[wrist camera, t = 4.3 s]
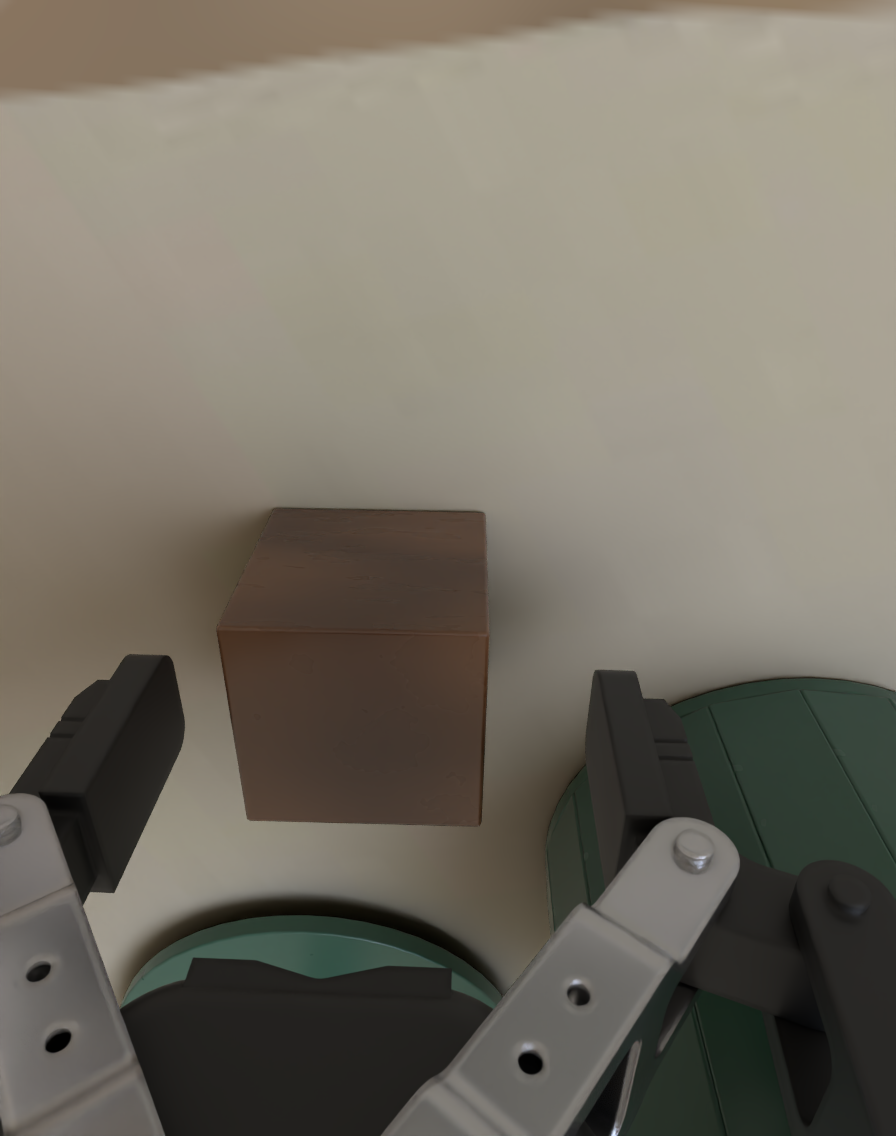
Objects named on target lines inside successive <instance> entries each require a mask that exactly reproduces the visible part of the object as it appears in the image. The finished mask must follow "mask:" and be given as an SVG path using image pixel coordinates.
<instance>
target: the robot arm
mask: <svg viewBox="0 0 896 1136" xmlns="http://www.w3.org/2000/svg"><path fill="white" fill-rule="evenodd" d="M184 731H185V721H184V714H183V709H182V704H181V699H180V694H179V689H178V684H177V679H176V674H175V669H174V665H173V661H172V659H171V658H170V657H169V656H167V655H138V654H129V655H127V656H125V657H124V659H123V660H122V662H121V663H120V665H119V666H118V668H117V670H116V671H115V673H114V674H113V676H112V677H111V679H110V680H97V681H96V682H94V683H93V684H92V685H90V686H89V687H88V688H86V689H85V690H84V691H82V692H81V693H80V694H78V695H77V696H76V697H75V698H74V699H73V701H72V702H71V704H70V705H69V707H68V708H67V710H66V711H65V712H64V714H63V715H62V717H61V721H58V723H57V724H56V726H55V727H54V729H53V730H52V732H51V733H50V738H49V737H47V739H46V740H45V742H44V743H43V745H42V746H41V748H40V749H39V751H38V752H37V754H36V755H35V756H34V758H33V759H32V761H31V762H30V764H29V765H28V767H27V768H26V770H25V771H24V773H23V774H22V776H21V777H20V778H19V780H18V781H17V783H16V784H15V786H14V787H13V789H12V790H11V792H10V793H9V794H7V795H3V796H0V1136H626V1135H627V1133H628V1131H629V1129H630V1127H631V1125H632V1123H633V1121H634V1119H635V1117H636V1115H637V1113H638V1111H639V1109H640V1107H641V1104H642V1102H643V1100H644V1097H645V1095H646V1092H647V1090H648V1087H649V1085H650V1083H651V1081H652V1079H653V1077H654V1075H655V1073H656V1071H657V1069H658V1067H659V1066H660V1064H661V1062H662V1060H663V1059H664V1057H665V1055H666V1053H667V1052H668V1050H669V1048H670V1047H671V1045H672V1043H673V1041H674V1040H675V1038H676V1036H677V1034H678V1033H679V1031H680V1029H681V1028H682V1026H683V1024H684V1022H685V1021H686V1019H687V1017H688V1015H689V1014H690V1012H691V1010H692V1008H693V1007H694V1005H695V1003H696V1002H697V1000H698V998H699V996H700V995H701V993H702V991H703V990H704V991H707V992H710V993H713V994H716V995H718V996H721V997H724V998H727V999H730V1000H732V1001H735V1002H738V1003H741V1004H744V1005H746V1006H749V1007H752V1008H755V1009H758V1010H760V1011H761V1012H762V1016H763V1020H764V1024H765V1029H766V1033H767V1037H768V1041H769V1045H770V1049H771V1054H772V1058H773V1062H774V1066H775V1070H776V1074H777V1079H778V1083H779V1087H780V1091H781V1095H782V1099H783V1103H784V1108H785V1112H786V1116H787V1120H788V1124H789V1128H790V1133H791V1136H896V901H895V899H894V897H893V895H892V894H891V893H890V891H889V890H888V889H887V888H886V887H885V886H884V885H883V884H882V882H880V881H879V880H878V879H877V878H876V877H874V876H873V875H871V874H870V873H868V872H867V871H865V870H863V869H861V868H859V867H857V866H854V865H852V864H849V863H846V862H842V861H836V860H820V861H816V862H812V863H810V864H808V865H807V866H805V867H804V868H803V869H802V870H801V872H800V874H799V875H798V876H797V875H793V874H790V873H787V872H783V871H780V870H777V869H773V868H770V867H767V866H764V865H761V864H758V863H756V862H753V861H751V860H749V859H747V858H746V857H744V856H742V855H741V854H739V853H738V851H737V849H736V847H735V845H734V844H733V842H732V841H731V840H730V839H729V838H728V837H727V835H726V834H724V833H723V832H722V831H721V830H719V829H718V828H716V827H715V824H714V821H713V818H712V815H711V812H710V809H709V806H708V803H707V799H706V796H705V793H704V790H703V787H702V784H701V780H700V777H699V774H698V771H697V768H696V765H695V761H693V755H692V752H691V749H690V746H689V744H688V742H687V740H688V739H687V736H686V733H685V730H684V727H683V723H682V720H681V718H680V717H679V716H678V715H677V713H676V712H675V711H674V710H673V709H672V708H671V707H670V706H669V705H668V704H667V702H666V701H665V700H664V699H643V697H642V693H641V689H640V685H639V682H638V678H637V674H636V672H635V671H614V670H595V672H594V675H593V681H592V689H591V697H590V705H589V713H588V721H587V729H586V741H585V753H586V766H587V773H588V780H589V786H590V793H591V799H592V806H593V813H594V819H595V826H596V832H597V839H598V845H599V852H600V858H601V865H602V872H603V878H604V885H605V891H604V892H603V894H602V895H601V896H600V897H599V899H598V900H597V901H596V902H595V903H594V904H593V905H592V906H589V905H588V904H586V903H581V904H579V905H578V906H576V907H575V908H574V909H573V910H572V911H571V913H570V914H569V915H568V916H567V917H566V919H565V920H564V921H563V922H562V924H561V925H560V926H559V928H558V929H557V930H556V931H555V933H554V934H553V935H552V936H551V938H550V939H549V940H548V941H547V943H546V944H545V945H544V946H543V948H542V949H541V950H540V951H539V953H538V954H537V955H536V956H535V958H534V959H533V960H532V961H531V963H530V964H529V965H528V966H527V968H526V969H525V970H524V971H523V973H522V974H521V975H520V976H519V978H518V979H517V980H516V981H515V983H514V984H513V985H512V986H511V988H510V989H509V990H508V991H507V993H506V994H505V995H504V997H503V998H502V999H501V1000H500V1002H499V1003H498V1004H497V1005H496V1007H495V1008H494V1009H493V1008H491V1007H489V1006H488V1005H486V1004H485V1003H483V1002H481V1001H480V1000H478V999H475V998H473V997H471V996H469V995H467V994H464V993H462V992H459V991H456V990H453V989H452V968H433V967H409V966H383V967H378V968H373V969H369V970H364V971H359V972H354V973H349V974H344V975H339V976H334V977H329V978H323V979H317V978H312V977H309V976H306V975H302V974H299V973H296V972H293V971H290V970H286V969H283V968H280V967H277V966H274V965H270V964H267V963H264V962H261V961H257V960H243V959H219V958H195V957H193V958H192V961H191V964H190V967H189V970H188V973H187V976H186V979H184V980H180V981H176V982H173V983H170V984H166V985H163V986H161V987H158V988H156V989H154V990H151V991H149V992H147V993H145V994H143V995H141V996H140V997H138V998H136V999H134V1000H132V1001H131V1002H129V1003H128V1004H126V1005H125V1006H123V1007H122V1008H120V1009H119V1006H118V1003H117V1000H116V997H115V995H114V992H113V989H112V986H111V984H110V981H109V978H108V975H107V972H106V970H105V967H104V964H103V961H102V958H101V956H100V953H99V950H98V947H97V944H96V942H95V939H94V936H93V933H92V930H91V928H90V925H89V922H88V919H87V916H86V914H85V911H84V908H83V904H84V902H85V900H86V898H87V896H88V894H89V892H104V893H114V892H115V890H116V888H117V886H118V884H119V881H120V879H121V877H122V875H123V873H124V871H125V869H126V866H127V864H128V862H129V860H130V858H131V856H132V853H133V851H134V849H135V847H136V845H137V843H138V841H139V838H140V836H141V834H142V832H143V830H144V828H145V826H146V823H147V821H148V819H149V817H150V815H151V813H152V810H153V808H154V806H155V804H156V802H157V800H158V798H159V795H160V793H161V791H162V789H163V787H164V785H165V783H166V780H167V778H168V776H169V774H170V772H171V770H172V767H173V765H174V763H175V761H176V759H177V757H178V755H179V752H180V750H181V747H182V744H183V739H184Z"/></svg>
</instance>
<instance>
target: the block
mask: <svg viewBox="0 0 896 1136" xmlns="http://www.w3.org/2000/svg"><path fill="white" fill-rule="evenodd" d="M216 631H217V637H218V643H219V649H220V655H221V662H222V668H223V674H224V680H225V686H226V692H227V698H228V705H229V711H230V717H231V723H232V729H233V735H234V742H235V748H236V754H237V760H238V766H239V772H240V778H241V785H242V791H243V797H244V803H245V809H246V815H247V819H248V820H250V821H288V822H325V823H363V824H400V825H438V826H476V827H478V826H480V824H481V822H482V801H483V778H484V755H485V732H486V708H487V685H488V662H489V639H490V629H489V599H488V570H487V540H486V516H485V514H484V513H472V512H422V511H372V510H322V509H274V510H273V511H272V513H271V515H270V517H269V520H268V522H267V524H266V526H265V528H264V530H263V532H262V534H261V536H260V538H259V540H258V542H257V544H256V546H255V549H254V551H253V553H252V555H251V557H250V559H249V561H248V563H247V565H246V567H245V569H244V571H243V573H242V575H241V577H240V580H239V582H238V584H237V586H236V588H235V590H234V592H233V594H232V596H231V598H230V600H229V602H228V604H227V606H226V609H225V611H224V613H223V615H222V617H221V619H220V621H219V623H218V625H217V628H216Z"/></svg>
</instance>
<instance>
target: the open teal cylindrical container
mask: <svg viewBox="0 0 896 1136" xmlns="http://www.w3.org/2000/svg"><path fill="white" fill-rule="evenodd" d="M671 708H672V709H673V710H674V711H675V712H676V713H677V715H678V716H679V717H680V718H681V720H682V723H683V727H684V730H685V733H686V736H687V739H688V740H687V742H688V744H689V746H690V749H691V752H692V755H693V761H695V765H696V768H697V771H698V774H699V777H700V780H701V784H702V787H703V790H704V793H705V796H706V799H707V803H708V806H709V809H710V812H711V815H712V818H713V821H714V824H715V827H716V828H718V829H719V830H721V831H722V832H723V833H724V834H726V835H727V837H728V838H729V839H730V840H731V841H732V842H733V844H734V845H735V847H736V849H737V851H738V853H739V854H741V855H742V856H744V857H746V858H747V859H749V860H751V861H753V862H756V863H758V864H761V865H764V866H767V867H770V868H773V869H777V870H780V871H783V872H787V873H790V874H793V875H797V876H798V875H799V874H800V872H801V870H802V869H803V868H804V867H805V866H807V865H808V864H810V863H812V862H816V861H820V860H836V861H842V862H846V863H849V864H852V865H854V866H857V867H859V868H861V869H863V870H865V871H867V872H868V873H870V874H871V875H873V876H874V877H876V878H877V879H878V880H879V881H880V882H882V884H883V885H884V886H885V887H886V888H887V889H888V890H889V891H890V893H891V894H892V895H893V897H894V899H895V901H896V692H893V691H890V690H886V689H883V688H880V687H877V686H872V685H867V684H862V683H856V682H851V681H845V680H832V679H819V678H798V679H777V680H769V681H761V682H753V683H746V684H742V685H737V686H733V687H729V688H724V689H720V690H716V691H712V692H709V693H706V694H703V695H700V696H697V697H694V698H691V699H688V700H685V701H682V702H680V703H678V704H676V705H674V706H671ZM545 866H546V876H547V902H548V913H549V923H550V934H551V936H552V935H553V934H554V933H555V931H556V930H557V929H558V928H559V926H560V925H561V924H562V922H563V921H564V920H565V919H566V917H567V916H568V915H569V914H570V913H571V911H572V910H573V909H574V908H575V907H576V906H578V905H579V904H581V903H586V904H588V905H589V906H592V905H593V904H594V903H595V902H596V901H597V900H598V899H599V897H600V896H601V895H602V894H603V892H604V891H605V885H604V878H603V872H602V865H601V858H600V852H599V845H598V839H597V832H596V826H595V819H594V813H593V806H592V799H591V793H590V786H589V780H588V773H587V766H586V765H585V766H584V767H583V768H582V770H581V771H580V772H579V773H578V775H577V776H576V777H575V778H574V780H573V781H572V782H571V783H570V785H569V786H568V788H567V790H566V791H565V793H564V795H563V796H562V798H561V800H560V801H559V803H558V805H557V807H556V810H555V813H554V815H553V818H552V820H551V823H550V825H549V830H548V835H547V840H546V847H545ZM626 1136H791V1133H790V1128H789V1124H788V1120H787V1116H786V1112H785V1108H784V1103H783V1099H782V1095H781V1091H780V1087H779V1083H778V1079H777V1074H776V1070H775V1066H774V1062H773V1058H772V1054H771V1049H770V1045H769V1041H768V1037H767V1033H766V1029H765V1024H764V1020H763V1016H762V1012H761V1011H760V1010H758V1009H755V1008H752V1007H749V1006H746V1005H744V1004H741V1003H738V1002H735V1001H732V1000H730V999H727V998H724V997H721V996H718V995H716V994H713V993H710V992H707V991H704V990H703V991H702V993H701V995H700V996H699V998H698V1000H697V1002H696V1003H695V1005H694V1007H693V1008H692V1010H691V1012H690V1014H689V1015H688V1017H687V1019H686V1021H685V1022H684V1024H683V1026H682V1028H681V1029H680V1031H679V1033H678V1034H677V1036H676V1038H675V1040H674V1041H673V1043H672V1045H671V1047H670V1048H669V1050H668V1052H667V1053H666V1055H665V1057H664V1059H663V1060H662V1062H661V1064H660V1066H659V1067H658V1069H657V1071H656V1073H655V1075H654V1077H653V1079H652V1081H651V1083H650V1085H649V1087H648V1090H647V1092H646V1095H645V1097H644V1100H643V1102H642V1104H641V1107H640V1109H639V1111H638V1113H637V1115H636V1117H635V1119H634V1121H633V1123H632V1125H631V1127H630V1129H629V1131H628V1133H627V1135H626Z"/></svg>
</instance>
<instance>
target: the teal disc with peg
mask: <svg viewBox="0 0 896 1136" xmlns="http://www.w3.org/2000/svg"><path fill="white" fill-rule="evenodd" d="M193 957H195V958H219V959H243V960H257V961H261V962H264V963H267V964H270V965H274V966H277V967H280V968H283V969H286V970H290V971H293V972H296V973H299V974H302V975H306V976H309V977H312V978H317V979H323V978H329V977H334V976H339V975H344V974H349V973H354V972H359V971H364V970H369V969H373V968H378V967H383V966H409V967H433V968H452V989H453V990H456V991H459V992H462V993H464V994H467V995H469V996H471V997H473V998H475V999H478V1000H480V1001H481V1002H483V1003H485V1004H486V1005H488V1006H489V1007H491V1008H493V1009H494V1008H495V1007H496V1005H497V1004H498V1003H499V1002H500V1000H501V999H502V998H503V997H502V996H501V994H500V993H499V992H498V990H497V989H496V988H495V987H494V986H493V985H492V984H491V983H490V982H489V981H488V980H487V979H486V978H485V977H484V976H483V975H482V974H481V973H480V972H478V971H477V970H476V969H474V968H473V967H472V966H470V965H469V964H468V963H466V962H465V961H464V960H462V959H460V958H458V957H457V956H455V955H453V954H452V953H450V952H448V951H446V950H445V949H443V948H441V947H439V946H437V945H434V944H432V943H430V942H428V941H425V940H423V939H421V938H419V937H416V936H413V935H410V934H407V933H404V932H401V931H398V930H395V929H393V928H388V927H384V926H380V925H376V924H372V923H368V922H364V921H357V920H351V919H344V918H338V917H327V916H313V915H277V916H267V917H258V918H249V919H244V920H239V921H234V922H229V923H224V924H220V925H217V926H214V927H211V928H207V929H204V930H201V931H198V932H196V933H194V934H191V935H189V936H187V937H185V938H182V939H180V940H178V941H176V942H175V943H173V944H171V945H170V946H168V947H166V948H165V949H163V950H162V951H160V952H159V953H158V954H156V955H155V956H154V957H153V958H152V959H151V960H149V961H148V962H147V963H146V964H145V965H144V966H143V967H142V968H141V970H140V971H139V972H138V973H137V975H136V976H135V977H134V978H133V980H132V982H131V984H130V986H129V988H128V990H127V992H126V994H125V996H124V999H123V1001H122V1004H121V1007H120V1008H122V1007H123V1006H125V1005H126V1004H128V1003H129V1002H131V1001H132V1000H134V999H136V998H138V997H140V996H141V995H143V994H145V993H147V992H149V991H151V990H154V989H156V988H158V987H161V986H163V985H166V984H170V983H173V982H176V981H180V980H184V979H186V976H187V973H188V970H189V967H190V964H191V961H192V958H193Z"/></svg>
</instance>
